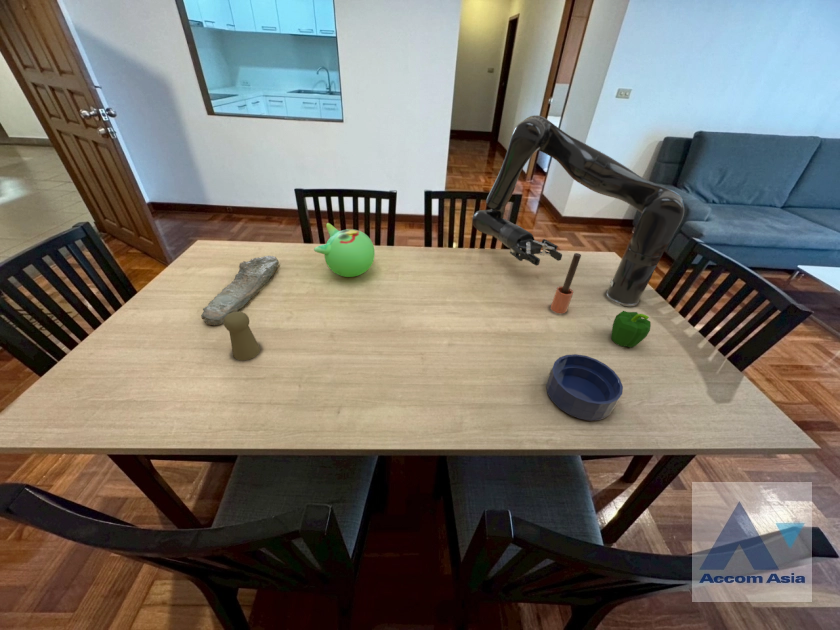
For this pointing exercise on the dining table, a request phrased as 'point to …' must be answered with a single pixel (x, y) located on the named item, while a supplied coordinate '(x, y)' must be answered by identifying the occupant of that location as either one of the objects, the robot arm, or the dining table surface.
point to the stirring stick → (571, 273)
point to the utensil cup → (561, 300)
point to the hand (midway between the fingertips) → (549, 260)
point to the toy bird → (347, 251)
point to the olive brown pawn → (241, 336)
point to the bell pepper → (630, 328)
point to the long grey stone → (240, 289)
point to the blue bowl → (584, 387)
